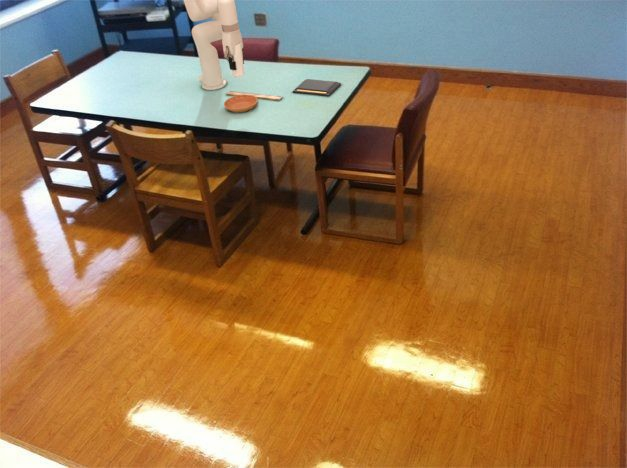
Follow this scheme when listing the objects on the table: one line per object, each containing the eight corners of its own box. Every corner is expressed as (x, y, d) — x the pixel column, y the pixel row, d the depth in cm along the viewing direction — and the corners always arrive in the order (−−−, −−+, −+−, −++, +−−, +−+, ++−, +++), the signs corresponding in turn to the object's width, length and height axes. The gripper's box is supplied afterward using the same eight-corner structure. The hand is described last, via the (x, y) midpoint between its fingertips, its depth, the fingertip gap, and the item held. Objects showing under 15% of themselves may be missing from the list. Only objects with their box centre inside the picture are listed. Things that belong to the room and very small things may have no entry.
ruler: (226, 94, 298) (226, 93, 297) (229, 92, 300) (229, 90, 300) (279, 100, 286) (279, 99, 286) (282, 98, 288) (282, 96, 288)
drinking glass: (243, 78, 271) (238, 45, 262) (229, 78, 273) (223, 46, 264) (247, 72, 277) (242, 40, 268) (234, 72, 278) (228, 40, 269)
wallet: (341, 80, 293) (328, 93, 283) (342, 84, 295) (328, 97, 284) (305, 76, 302) (291, 88, 291) (306, 80, 303) (291, 92, 292)
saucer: (237, 98, 293) (236, 92, 292) (264, 102, 286) (263, 96, 285) (218, 111, 283) (217, 106, 281) (246, 116, 276) (244, 110, 274)
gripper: (233, 20, 269) (239, 59, 280) (212, 33, 257) (220, 73, 268) (247, 21, 266) (253, 60, 277) (227, 34, 254) (234, 74, 265)
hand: (237, 66), depth 272 cm, fingers closed on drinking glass, 6 cm apart
